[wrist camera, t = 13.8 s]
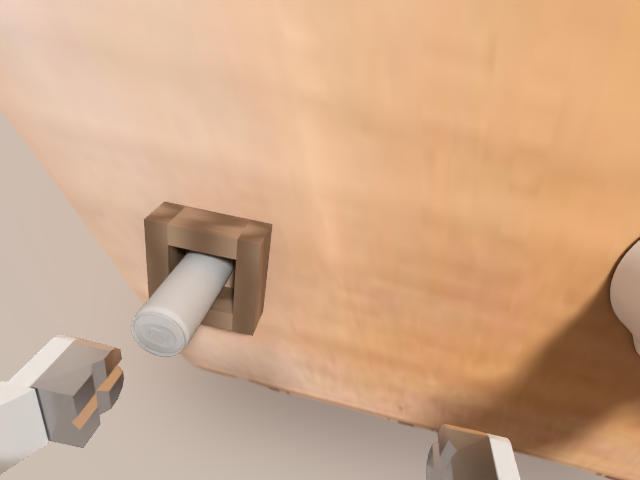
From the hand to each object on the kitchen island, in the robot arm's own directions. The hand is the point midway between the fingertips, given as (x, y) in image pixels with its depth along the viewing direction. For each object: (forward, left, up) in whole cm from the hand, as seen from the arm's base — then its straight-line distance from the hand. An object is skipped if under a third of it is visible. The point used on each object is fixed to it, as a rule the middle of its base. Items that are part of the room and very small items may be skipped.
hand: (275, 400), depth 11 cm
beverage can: (+12, +17, -29) cm, 36 cm away
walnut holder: (+12, +17, -29) cm, 36 cm away
